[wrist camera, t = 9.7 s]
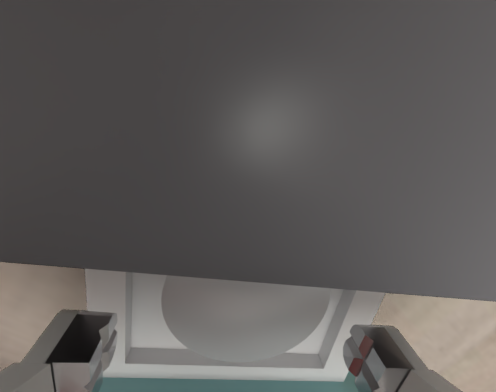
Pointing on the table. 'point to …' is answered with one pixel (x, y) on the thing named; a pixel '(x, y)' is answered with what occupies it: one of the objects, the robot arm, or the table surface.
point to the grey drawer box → (253, 141)
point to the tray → (209, 370)
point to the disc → (240, 316)
